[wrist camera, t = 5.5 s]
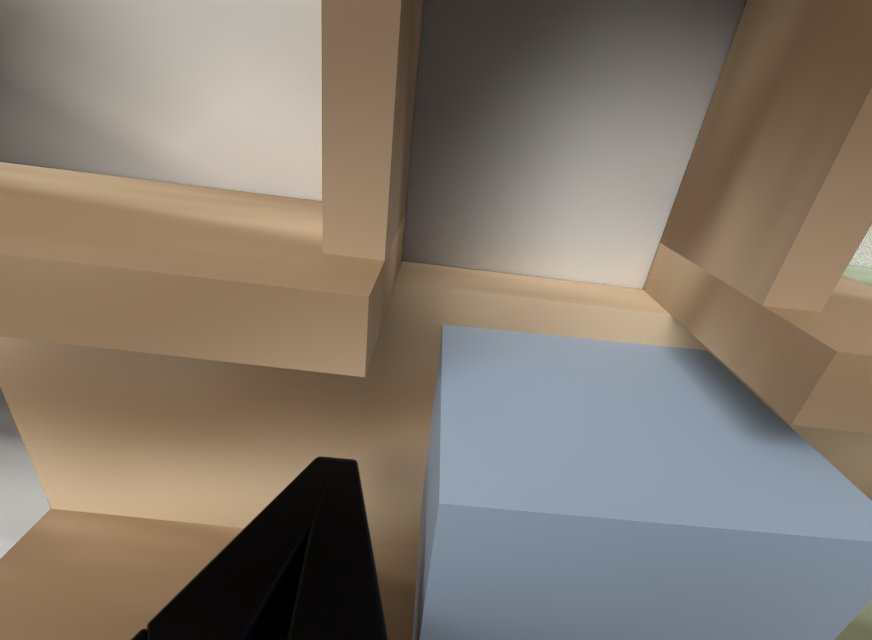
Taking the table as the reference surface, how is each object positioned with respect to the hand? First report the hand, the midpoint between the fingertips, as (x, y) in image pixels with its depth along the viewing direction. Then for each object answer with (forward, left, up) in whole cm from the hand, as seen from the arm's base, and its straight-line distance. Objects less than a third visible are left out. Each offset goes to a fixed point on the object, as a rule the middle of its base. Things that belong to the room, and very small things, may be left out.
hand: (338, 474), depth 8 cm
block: (0, -4, -1) cm, 4 cm away
